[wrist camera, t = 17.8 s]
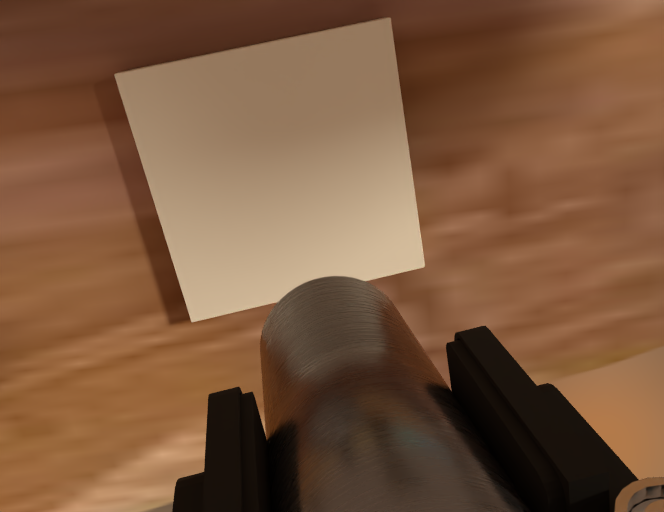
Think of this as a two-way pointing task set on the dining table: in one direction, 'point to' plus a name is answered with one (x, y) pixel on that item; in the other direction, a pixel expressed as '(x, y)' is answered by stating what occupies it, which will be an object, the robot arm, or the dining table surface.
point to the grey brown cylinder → (366, 412)
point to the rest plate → (278, 164)
